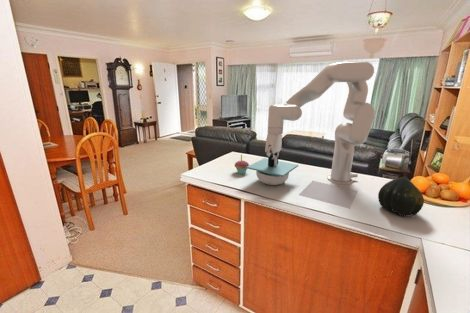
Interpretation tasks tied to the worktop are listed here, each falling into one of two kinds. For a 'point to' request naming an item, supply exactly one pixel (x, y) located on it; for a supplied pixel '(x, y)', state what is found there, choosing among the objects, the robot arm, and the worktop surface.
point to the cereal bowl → (271, 178)
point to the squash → (401, 197)
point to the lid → (278, 169)
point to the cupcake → (241, 166)
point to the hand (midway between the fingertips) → (272, 164)
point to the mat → (330, 194)
